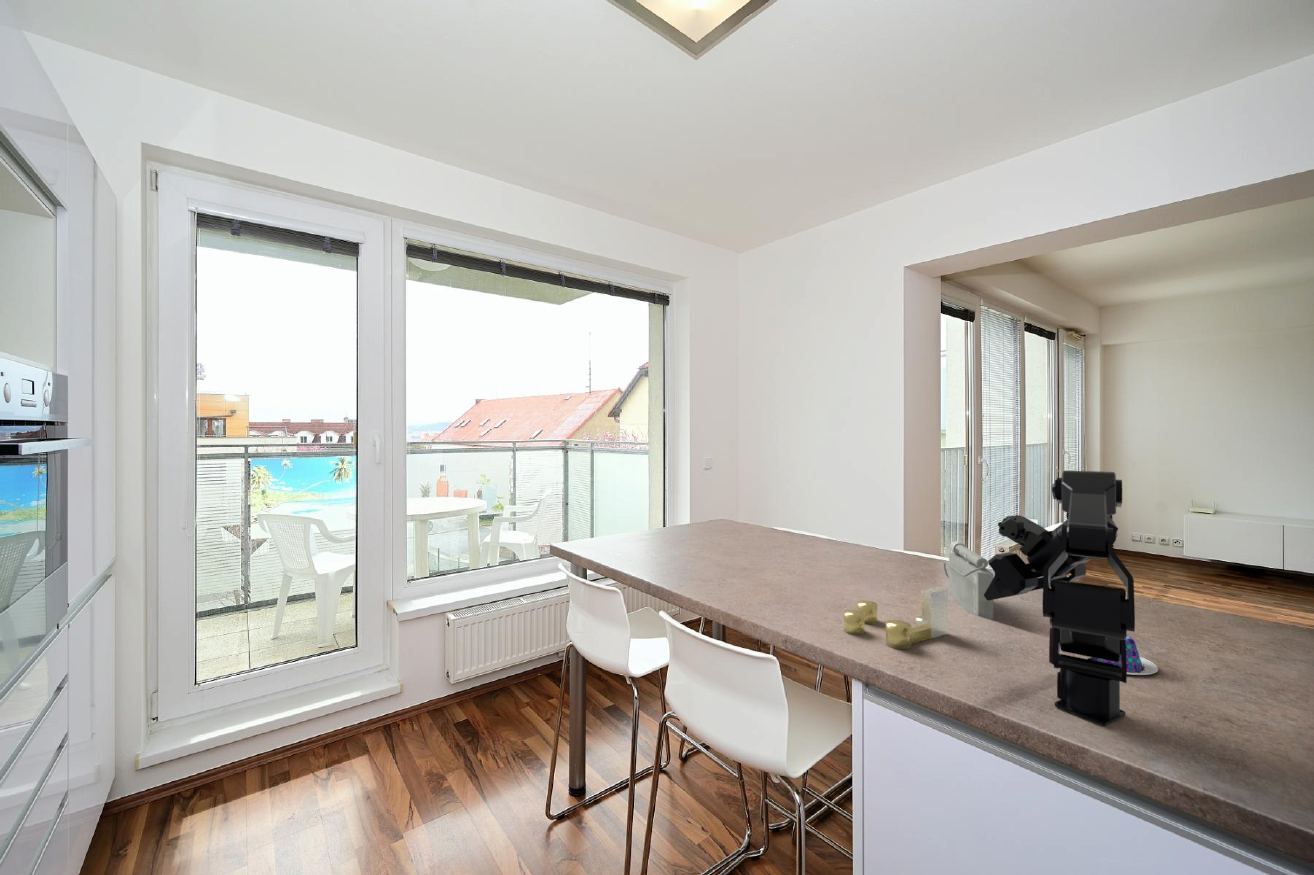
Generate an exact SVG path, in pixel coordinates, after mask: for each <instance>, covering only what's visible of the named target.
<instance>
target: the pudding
mask: <svg viewBox="0 0 1314 875" xmlns="http://www.w3.org/2000/svg"><path fill="white" fill-rule="evenodd" d="M1139 653H1140V652H1139V651H1138V647H1137V643H1136V642H1135V640H1134V639H1133V638H1132V637H1131V636H1130V635H1128V634H1127V637H1126V664H1127V675H1133V676H1134V675H1136V676H1139V675H1140V676H1142V675H1143V676H1145V675H1153V674H1155V673H1157V672H1158V671H1159V667H1158V666H1157V665H1156V664H1155V663H1153V662H1152V661H1151V660H1148V659H1146V658H1144V657H1142V656H1140V654H1139ZM1087 659H1089V660H1094V661H1099V662H1104V663H1108V664H1113V665H1118V666H1121V655H1120V659H1119V662H1113V661H1108V660H1103V659H1098V658H1093V657H1088V658H1087ZM1142 664H1144V666H1142ZM1144 667H1146V668H1144ZM1144 670H1145V671H1144ZM1138 671H1140V672H1141V673H1137V672H1138Z"/></svg>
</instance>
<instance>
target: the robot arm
mask: <svg viewBox="0 0 1314 875" xmlns="http://www.w3.org/2000/svg"><path fill="white" fill-rule="evenodd" d="M1116 475H1117V474H1116V472H1115V471H1101V470H1099V471H1095V470H1063V471H1062V473H1061V477H1056V479H1054V483H1053V484H1052V485H1051V493H1052V497H1053V498H1052V499H1053V500H1056V501H1057V503H1058V504H1061V510H1062V511H1063V512H1065V513H1066V514H1065V515H1066V516H1065V517H1066V520H1064V521H1063V522H1062V523H1060V525H1058V526H1057V527H1056V528H1054V529H1053V530H1048V529H1046V528H1045V527H1043V526H1042V525H1040V524H1038V523H1036V522H1034V521H1033V520H1031V519H1029V518H1027V517H1025V516H1023V515H1018V514H1014V515H1009V516H1006V517H1004V518H1003V519H1002V520H1001V521H1000V522H998V523H997V526H998V534H999V535H1001V537H1004V538H1005V537H1006V538H1008V539H1009V540H1010V541H1012V542H1014V543H1016V544H1018V545H1020V546H1021V547H1020V548H1018V550H1019V551H1020V552H1021V553H1022V554H1023V555H1024V556H1026V560H1027V562H1028V563H1025V561H1024V560H1023V559H1022V558H1021V557H1020V556H1019V555H1018V553H1015V552H1009V551H1007V552H1003V553H997V554H995V555H994V556H992V557H991V558H990V559H988V560H987V561H988V566H990V568H991V569H992V570H993V572H994V575H993V580H992V582H991V583H990V585H989V587H988V588H987V590H986V592H985V593H984V597H985V598H986V599H987V600H988V601H989V600H993V601H994V600H999V599H1004V598H1008V597H1013V596H1019V595H1023V594H1027V593H1028V592H1033V591H1037V590H1042V617H1045V618H1049V625H1050V628H1049V641H1048V642H1049V644H1048V646H1049V647H1048V651H1049V652H1048V659H1049V660H1048V661H1049V664H1051V665H1053V668H1054V669H1060V671H1058V672H1057V673H1056V684H1057V685H1056V689H1057V690H1056V691H1057V692H1056V694H1057V695H1056V697H1057V699H1058V700H1056V701H1054V706H1055V707H1056V708H1059V709H1061V710H1064V711H1066V712H1068V713H1071V714H1073V715H1074V716H1075V715H1076V716H1078V717H1080V718H1083V719H1085V720H1087V721H1090V722H1093V723H1095V724H1097V725H1100V726H1107V725H1109V724H1112V723H1113V722H1115V721H1117V720H1120V719H1121V718H1123V717H1125V716H1126V714H1127V712H1126V711H1125V710H1124V709H1123V710H1122V709H1120V707H1121V704H1120V702H1121V701H1120V698H1121V697H1120V693H1121V690H1120V689H1121V686H1120V684H1121V683H1124V684H1127V683H1128V681H1127V680H1128V677H1127V676H1128V674H1127V664H1126V637H1127V635H1128V633H1127V632H1128V631H1129V632H1134V633H1135V629H1136V628H1135V627H1136V613H1135V612H1136V609H1135V608H1136V607H1135V606H1136V605H1135V584H1134V582H1135V581H1134V577H1133V574H1131V572H1130V570H1128V568H1127V567H1126V566H1125V564H1124V563H1123V562H1122V560H1121V559H1120V558H1119V557H1118V555H1117V553H1116V552H1115V551H1114V544H1115V542H1116V540H1117V538H1118V531H1119V527H1118V526H1117V524H1116V523H1115V522H1114V519H1113V516H1114V515H1116V514H1117V508H1121V507H1122V504H1123V481H1122V479H1117V478H1116V477H1117V476H1116ZM1092 558H1095V559H1104V560H1107V563H1108V565H1109V566H1110V568H1111V569H1112V570H1113V571H1114V573H1115V574H1116V576H1117V577H1118V578H1119V580H1120V581H1121V582H1122V583H1123V586H1124V587H1125V588H1126V589H1125V588H1122V587H1116V586H1115V587H1114V586H1106V585H1097V584H1090V583H1086V582H1077V581H1078V580H1080V579H1081V578H1083V577H1084V576H1086V575H1087V568H1086V565H1085V563H1088V562H1089V561H1091V560H1092ZM1061 652H1063V653H1069V654H1073V655H1080V656H1085V657H1088V658H1091V657H1093V658H1098V659H1103V660H1108V661H1113V662H1119V659H1120V655H1121V666H1118V665H1113V664H1108V663H1104V662H1099V661H1094V660H1089V659H1088V658H1083V657H1077V656H1072V655H1069V654H1063V653H1061ZM1120 682H1121V683H1120Z"/></svg>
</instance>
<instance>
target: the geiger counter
mask: <svg viewBox="0 0 1314 875" xmlns="http://www.w3.org/2000/svg"><path fill="white" fill-rule="evenodd" d="M949 549H950V551H951V552H949V553H948V562H947V561H944V562H943V569H944V573H945V575H946V577H947V579H948V596H950V597H951V598H952V599H953V600H954V601H955V602H956V603H958V605H960V606H961V608H963V609H964V610H965V611H966V612H967V613H968V614H971V615H972V616H973V615H974V616H977V617H980V618H983V619H986V620H990V621H991V622H992V621H994V600H989V601H988V600H987V599H986V598H985V597H984V593H985V592H986V590H987V588H988V587H989V585H990V583H991V582H992V580H993V578H994V573H993V572H992V571H991V570H989V569H987V567H988V566H989V564H988V561H989V560H987V559H986V558H984V557H983V556H981V555H979V553H978V552H977V553H976V552H974V551H973V550H971V549H969V548H968V547H966V545H965V544H964V543H962V542H960V541H957V540H954V541H952V542H951V543H950V545H949ZM946 565H947V566H948V570H947V568H946V567H947V566H946ZM947 571H948V572H947Z"/></svg>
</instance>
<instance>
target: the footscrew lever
mask: <svg viewBox="0 0 1314 875" xmlns="http://www.w3.org/2000/svg"><path fill="white" fill-rule="evenodd" d="M948 598H949V588H945V587H941V586H935V587H929V588H925V589H921V616H922V623H921V625H919V626H915V627H912V625H911V623H909V622H907V621H904V620H900V619H888V620H885V644H886V646H888V647H890V648H893V649H895V650H896V649H897V650H908V649H911V648H912V644H916V643H919V642H923V641H927V640H930V639H935V638H939V637H943V636H946V635H948V634H949V607H948V606H949V605H948V604H949V601H948V600H949V599H948Z"/></svg>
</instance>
